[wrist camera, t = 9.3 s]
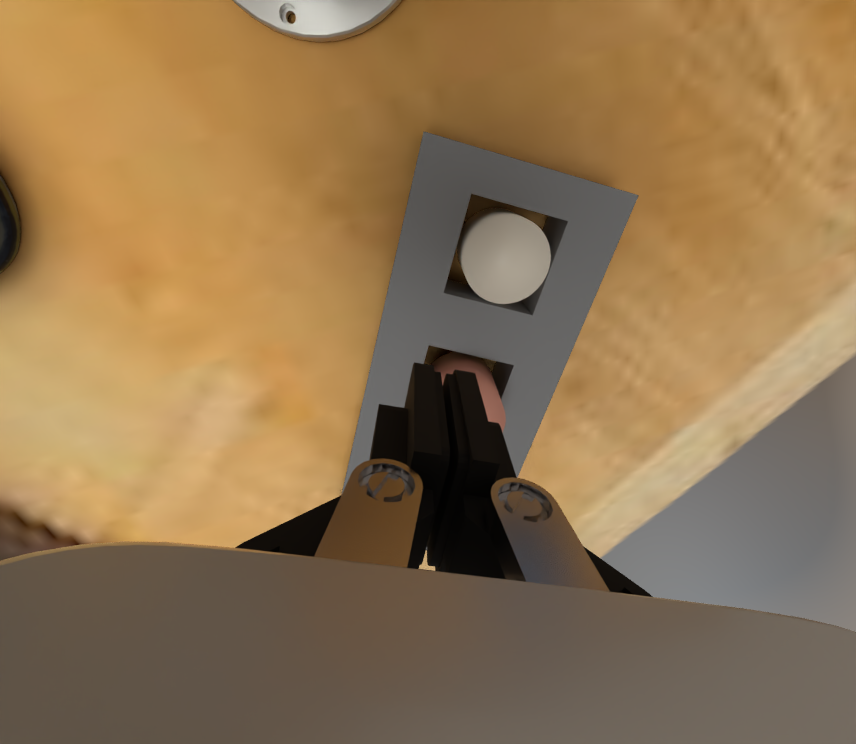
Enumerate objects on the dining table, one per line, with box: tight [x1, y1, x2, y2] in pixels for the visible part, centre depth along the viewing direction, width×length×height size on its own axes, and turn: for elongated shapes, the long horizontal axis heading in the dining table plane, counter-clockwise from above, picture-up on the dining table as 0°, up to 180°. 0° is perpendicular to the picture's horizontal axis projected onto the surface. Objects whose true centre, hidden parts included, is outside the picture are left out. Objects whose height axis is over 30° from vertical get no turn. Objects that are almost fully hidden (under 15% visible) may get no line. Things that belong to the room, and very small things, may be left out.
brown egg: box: [431, 352, 506, 433], centre depth 28 cm, size 5×5×5 cm
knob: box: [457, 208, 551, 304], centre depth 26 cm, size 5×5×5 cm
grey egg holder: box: [342, 132, 639, 550], centre depth 31 cm, size 28×12×4 cm, turn 165°
